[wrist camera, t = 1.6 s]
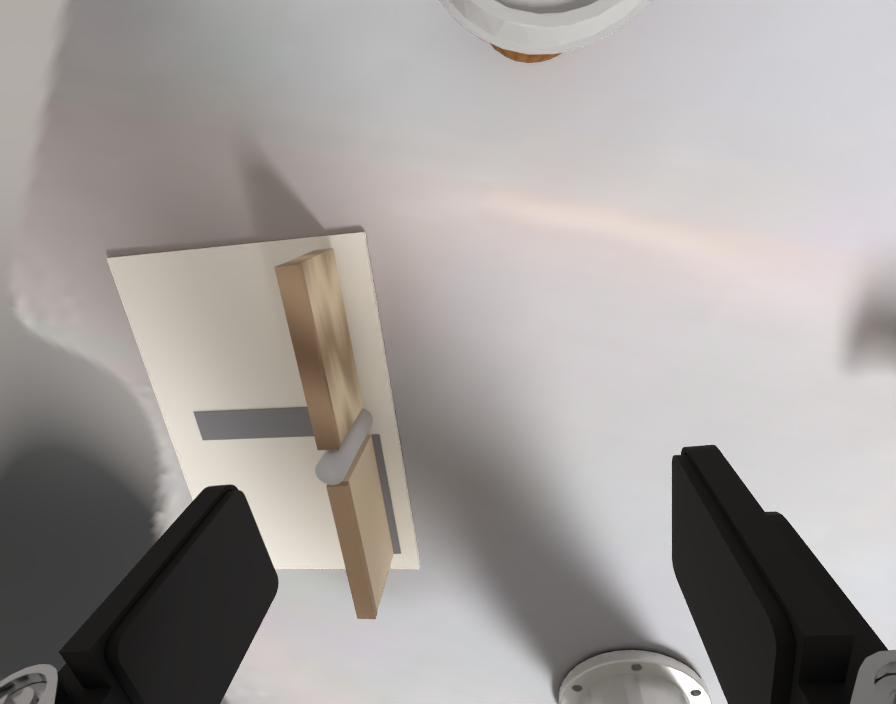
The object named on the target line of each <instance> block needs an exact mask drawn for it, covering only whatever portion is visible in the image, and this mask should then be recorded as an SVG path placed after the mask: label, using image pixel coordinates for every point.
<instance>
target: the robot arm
mask: <svg viewBox="0 0 896 704" xmlns="http://www.w3.org/2000/svg"><path fill="white" fill-rule="evenodd" d="M672 562H673V568H674V572H675V575H676V578H677V581H678V583H679V586H680V588H681V590H682V593H683V595H684V598H685V600H686V603H687V605H688V607H689V610H690V612H691V615H692V617H693V620H694V622H695V625H696V627H697V629H698V632H699V634H700V637H701V639H702V642H703V644H704V646H705V649H706V651H707V654H708V656H709V659H710V661H711V663H712V666H713V668H714V671H715V673H716V676H717V678H718V680H719V683H720V685H721V688H722V690H723V693H724V695H725V697H726V700H727V702H728V704H896V650H888V649H887V648H886V646H885V645H884V644H883V643H882V641H881V640H880V639H879V637H878V636H877V635H876V634H875V632H874V631H873V630H872V628H871V627H870V626H869V625H868V623H867V622H866V621H865V619H864V618H863V617H862V616H861V614H860V613H859V612H858V610H857V609H856V608H855V607H854V605H853V604H852V603H851V601H850V600H849V599H848V598H847V596H846V595H845V594H844V592H843V591H842V590H841V589H840V587H839V586H838V585H837V583H836V582H835V581H834V580H833V578H832V577H831V576H830V574H829V573H828V572H827V571H826V569H825V568H824V567H823V565H822V564H821V563H820V562H819V560H818V559H817V558H816V556H815V555H814V554H813V553H812V551H811V550H810V549H809V547H808V546H807V545H806V544H805V542H804V541H803V540H802V538H801V537H800V536H799V535H798V533H797V532H796V531H795V529H794V528H793V527H792V526H791V524H790V523H789V522H788V521H787V519H786V518H785V517H784V516H783V515H782V514H780V513H778V512H764V510H763V509H762V508H761V506H760V505H759V503H758V502H757V501H756V499H755V498H754V497H753V495H752V494H751V493H750V491H749V490H748V488H747V487H746V486H745V484H744V483H743V482H742V480H741V479H740V478H739V476H738V475H737V473H736V472H735V471H734V469H733V468H732V467H731V465H730V464H729V463H728V461H727V460H726V458H725V457H724V456H723V454H722V453H721V452H720V450H719V449H718V448H717V447H716V446H715V445H705V446H693V447H684V448H682V451H681V455H674V456H673V458H672ZM277 589H278V576H277V574H276V571H275V569H274V566H273V564H272V561H271V559H270V556H269V554H268V551H267V549H266V546H265V544H264V541H263V539H262V536H261V534H260V531H259V529H258V526H257V524H256V521H255V519H254V516H253V514H252V511H251V509H250V506H249V504H248V501H247V499H246V496H245V494H244V493H243V492H242V491H241V490H238V488H237V487H236V486H235V485H231V484H229V485H216V486H208V487H206V488H204V489H203V490H202V491H201V492H200V494H199V495H198V496H197V497H196V498H195V499H194V500H193V501H192V503H191V504H190V505H189V506H188V507H187V508H186V509H185V510H184V512H183V513H182V514H181V515H180V516H179V517H178V518H177V519H176V521H175V522H174V523H173V524H172V525H171V526H170V527H169V528H168V530H167V531H166V532H165V533H164V534H163V535H162V536H161V537H160V539H159V540H158V541H157V542H156V543H155V544H154V545H153V546H152V548H151V549H150V550H149V551H148V552H147V553H146V554H145V555H144V557H143V558H142V559H141V560H140V561H139V562H138V563H137V564H136V566H135V567H134V568H133V569H132V570H131V571H130V572H129V574H128V575H127V576H126V577H125V578H124V579H123V580H122V581H121V582H120V584H119V585H118V586H117V587H116V588H115V589H114V591H112V593H111V594H110V595H109V596H108V597H107V598H106V599H105V601H104V602H103V603H102V604H101V605H100V606H99V607H98V608H97V610H96V611H95V612H94V613H93V614H92V615H91V616H90V618H89V619H88V620H87V621H86V622H85V623H84V624H83V625H82V626H81V628H80V629H79V630H78V631H77V632H76V633H75V634H74V635H73V637H72V638H71V639H70V640H69V641H68V642H67V643H66V644H65V646H64V647H63V648H62V649H61V650H60V651H59V653H60V654H61V655H62V657H63V659H64V660H65V661H66V664H65V665H64V666H63V667H62V669H61V670H60V671H59V672H58V671H57V670H56V669H55V668H54V667H53V666H52V665H45V664H40V665H35V666H31V667H27V668H25V669H23V670H21V671H18V672H16V673H14V674H12V675H10V676H9V677H7V678H5V679H4V680H2V681H0V704H220V703H221V701H222V699H223V697H224V695H225V693H226V691H227V689H228V687H229V685H230V683H231V681H232V679H233V677H234V675H235V673H236V672H237V670H238V668H239V666H240V664H241V662H242V660H243V658H244V656H245V654H246V652H247V650H248V648H249V646H250V644H251V642H252V640H253V638H254V636H255V634H256V632H257V630H258V629H259V627H260V625H261V623H262V621H263V619H264V617H265V615H266V613H267V611H268V609H269V607H270V605H271V603H272V601H273V599H274V597H275V595H276V593H277ZM559 704H712V703H711V700H710V697H709V694H708V691H707V689H706V687H705V685H704V683H703V681H702V680H701V679H700V677H699V676H698V675H697V674H696V673H695V672H694V671H693V670H691V669H690V668H689V667H688V666H686V665H685V664H683V663H681V662H679V661H677V660H675V659H673V658H671V657H668V656H665V655H662V654H659V653H654V652H649V651H641V650H621V651H612V652H608V653H603V654H600V655H597V656H594V657H591V658H589V659H587V660H585V661H584V662H582V663H580V664H578V665H577V666H576V667H575V668H574V669H573V670H571V671H570V672H569V673H568V675H567V676H566V677H565V679H564V680H563V682H562V685H561V687H560V690H559Z"/></svg>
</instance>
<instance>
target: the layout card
mask: <svg viewBox="0 0 896 704" xmlns="http://www.w3.org/2000/svg"><path fill="white" fill-rule="evenodd" d="M329 248H333V250H334V255H335V261H336V266H337V271H338V276H339V282H340V287H341V292H342V297H343V303H344V308H345V313H346V318H347V324H348V329H349V334H350V339H351V344H352V350H353V355H354V360H355V365H356V371H357V376H358V381H359V386H360V392H361V397H362V402H363V408H362V410H361V411H360V413H359V415H358V416H357V418H356V420H355V421H354V423H353V425H352V426H351V428H350V430H349V431H348V433H347V435H346V437H345V438H344V440H343V442H342V443H341V446H340V448H339V450H317V446H316V441H315V437H314V433H313V429H312V424H311V420H310V416H309V412H308V408H307V403H306V399H305V395H304V391H303V386H302V382H301V378H300V374H299V370H298V365H297V361H296V357H295V353H294V348H293V344H292V340H291V336H290V332H289V327H288V323H287V319H286V315H285V310H284V306H283V302H282V298H281V294H280V289H279V285H278V281H277V277H276V272H275V268H274V267H276V266H278V265H281V264H283V263H286V262H288V261H290V260H292V259H295V258H297V257H299V256H302V255H304V254H306V253H309V252H311V251H313V250H319V249H329ZM106 259H107V261H108V264H109V267H110V270H111V273H112V275H113V278H114V281H115V284H116V287H117V289H118V292H119V295H120V298H121V301H122V303H123V306H124V309H125V312H126V315H127V317H128V320H129V323H130V326H131V329H132V331H133V334H134V337H135V340H136V343H137V345H138V348H139V351H140V354H141V356H142V359H143V362H144V365H145V368H146V370H147V373H148V376H149V379H150V382H151V384H152V387H153V390H154V393H155V396H156V398H157V401H158V404H159V407H160V410H161V412H162V415H163V418H164V421H165V424H166V426H167V429H168V432H169V435H170V438H171V440H172V443H173V446H174V449H175V452H176V454H177V457H178V460H179V463H180V466H181V468H182V471H183V474H184V477H185V480H186V482H187V485H188V488H189V491H190V494H191V496H192V499H193V500H194V499H195V498H196V497H197V496H198V495H199V494H200V492H201V491H202V490H203V489H204V488H206V487H208V486H216V485H229V484H231V485H235V486H236V487H237V488H238V490H241V491H242V492H243V493H244V494H245V496H246V499H247V501H248V504H249V506H250V509H251V511H252V514H253V516H254V519H255V521H256V524H257V526H258V529H259V531H260V534H261V536H262V539H263V541H264V544H265V546H266V549H267V551H268V554H269V556H270V559H271V561H272V564H273V566H274V569H346V572H347V577H348V581H349V585H350V589H351V593H352V598H353V602H354V606H355V610H356V615H357V619H376V616H377V610H378V606H379V603H380V599H381V596H382V593H383V589H384V586H385V582H386V579H387V575H388V572H389V569H420V566H421V565H420V559H419V553H418V547H417V541H416V535H415V529H414V523H413V517H412V511H411V505H410V499H409V493H408V487H407V481H406V475H405V469H404V463H403V457H402V451H401V445H400V439H399V433H398V427H397V421H396V415H395V409H394V402H393V396H392V390H391V384H390V378H389V372H388V366H387V360H386V354H385V348H384V342H383V336H382V330H381V324H380V318H379V312H378V306H377V300H376V294H375V288H374V282H373V276H372V270H371V264H370V258H369V252H368V246H367V240H366V234H365V232H356V233H346V234H336V235H326V236H316V237H307V238H297V239H287V240H277V241H267V242H257V243H248V244H238V245H228V246H218V247H208V248H198V249H189V250H179V251H169V252H159V253H149V254H139V255H130V256H120V257H110V258H106Z"/></svg>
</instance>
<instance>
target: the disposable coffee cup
mask: <svg viewBox="0 0 896 704" xmlns="http://www.w3.org/2000/svg"><path fill="white" fill-rule="evenodd" d="M439 1H440V2H441V3H442V4H443V6H444V7H445V8H446V9H447V11H448V12H449V13H450V14H451V16H452V17H453V18H454V19H455V20H456V21H457V22H459V23H460V24H461V25H462V26H464V27H465V28H466V29H467V30H469V31H470V32H472V33H473V34H474V35H476V36H477V37H479V38H480V39H482V40H484V41H486V42H489V43H490V44H491V45H492V46H493V47H494V48H495V50H497V51H498V52H500V53H501V54H503V55H504V56H506V57H507V58H510V59H512V60H514V61H519V62H526V63H533V62H542V61H545V60H549V59H551V58H553V57H555V56H557V55H559V54H561V53H563V52H567V51H571V50H576V49H580V48H583V47H585V46H588V45H590V44H592V43H594V42H596V41H598V40H601V39H603V38H605V37H607V36H609V35H611V34H613V33H615V32H616V31H617V30H619V29H620V28H621V27H623V26H624V25H625V24H627V23H628V22H629V21H631V20H632V19H634V18H635V17H636V16H637V15H639V14H640V13H641V12H642V11H643V10H644V9H645V8H646V7H647V6H648V5H649V4H650V3H651V2H652V1H653V0H439Z"/></svg>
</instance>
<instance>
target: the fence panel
mask: <svg viewBox="0 0 896 704" xmlns="http://www.w3.org/2000/svg"><path fill="white" fill-rule="evenodd" d="M274 268H275V272H276V277H277V281H278V285H279V289H280V294H281V298H282V302H283V306H284V310H285V315H286V319H287V323H288V327H289V332H290V336H291V340H292V344H293V348H294V353H295V357H296V361H297V365H298V370H299V374H300V378H301V382H302V386H303V391H304V395H305V399H306V403H307V408H308V412H309V416H310V420H311V424H312V429H313V433H314V437H315V441H316V446H317V450H339V448H340V446H341V443H342V442H343V440H344V438H345V437H346V435H347V433H348V431H349V430H350V428H351V426H352V425H353V423H354V421H355V420H356V418H357V416H358V415H359V413H360V411H361V410H362V408H363V402H362V397H361V392H360V386H359V381H358V376H357V371H356V365H355V360H354V355H353V350H352V344H351V339H350V334H349V329H348V324H347V318H346V313H345V308H344V303H343V297H342V292H341V287H340V282H339V276H338V271H337V266H336V261H335V255H334V250H333V248H329V249H319V250H313V251H311V252H309V253H306V254H304V255H302V256H299V257H297V258H295V259H292V260H290V261H288V262H286V263H283V264H281V265H278V266H276V267H274Z"/></svg>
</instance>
